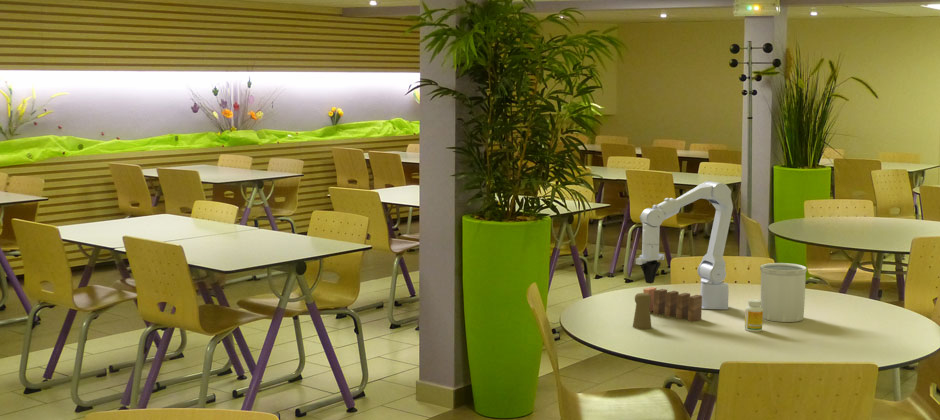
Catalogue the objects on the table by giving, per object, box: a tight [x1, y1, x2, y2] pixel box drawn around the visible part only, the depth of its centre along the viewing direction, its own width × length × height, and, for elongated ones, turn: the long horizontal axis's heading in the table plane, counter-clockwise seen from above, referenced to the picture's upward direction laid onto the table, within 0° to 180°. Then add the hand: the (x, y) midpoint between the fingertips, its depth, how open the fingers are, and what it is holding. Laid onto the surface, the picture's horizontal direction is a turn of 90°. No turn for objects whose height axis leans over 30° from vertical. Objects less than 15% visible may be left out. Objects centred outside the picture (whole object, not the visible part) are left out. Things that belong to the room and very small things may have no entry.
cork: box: [632, 292, 652, 330], centre depth 318 cm, size 6×6×11 cm
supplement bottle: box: [744, 298, 763, 333], centre depth 314 cm, size 5×5×10 cm
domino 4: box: [675, 292, 691, 320], centre depth 331 cm, size 2×5×8 cm, turn 136°
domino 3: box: [664, 290, 680, 318], centre depth 334 cm, size 2×5×8 cm, turn 136°
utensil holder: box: [759, 262, 808, 323], centre depth 331 cm, size 15×15×18 cm
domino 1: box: [642, 286, 658, 313], centre depth 340 cm, size 2×5×8 cm, turn 137°
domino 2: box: [652, 288, 668, 316], centre depth 337 cm, size 2×5×8 cm, turn 136°
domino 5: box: [687, 294, 703, 322], centre depth 328 cm, size 2×5×8 cm, turn 136°
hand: (649, 282), depth 339 cm, fingers closed
